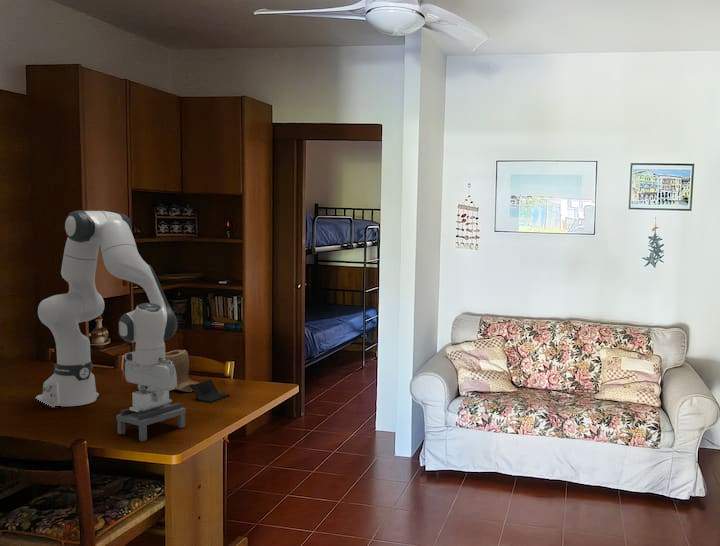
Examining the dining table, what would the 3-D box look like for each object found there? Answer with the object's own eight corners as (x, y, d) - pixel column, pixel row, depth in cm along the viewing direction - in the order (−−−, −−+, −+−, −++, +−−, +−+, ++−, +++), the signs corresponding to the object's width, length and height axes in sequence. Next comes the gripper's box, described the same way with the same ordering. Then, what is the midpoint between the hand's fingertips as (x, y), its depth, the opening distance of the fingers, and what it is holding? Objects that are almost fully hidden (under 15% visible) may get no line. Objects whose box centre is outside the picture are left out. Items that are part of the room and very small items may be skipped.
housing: (162, 400, 225) (162, 384, 225) (173, 402, 222) (172, 386, 222) (128, 409, 214) (128, 393, 214) (139, 412, 211) (138, 395, 211)
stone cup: (156, 388, 269) (156, 349, 268) (184, 383, 277) (183, 345, 276) (177, 396, 258) (176, 356, 257) (205, 390, 267) (204, 351, 265)
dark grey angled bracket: (216, 399, 249) (203, 375, 251) (201, 410, 250) (188, 386, 253) (232, 396, 260) (218, 373, 262) (217, 406, 261) (204, 383, 264)
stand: (116, 434, 215) (116, 410, 215) (160, 420, 229) (159, 397, 229) (142, 441, 209) (142, 416, 208) (185, 426, 223) (185, 403, 222)
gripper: (181, 358, 214) (182, 403, 215) (137, 350, 225) (138, 392, 226) (165, 362, 209) (166, 408, 210) (120, 354, 220) (121, 397, 221)
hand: (151, 400), depth 218 cm, fingers closed on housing, 5 cm apart
